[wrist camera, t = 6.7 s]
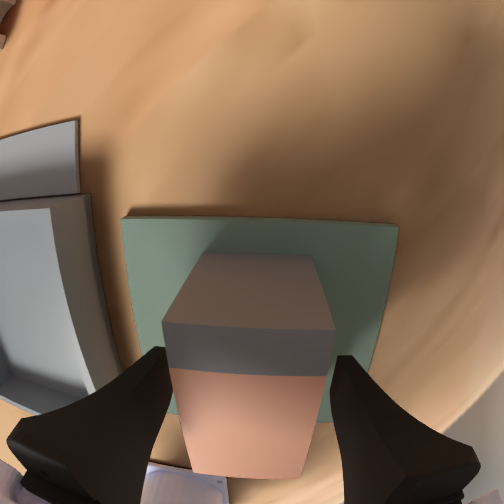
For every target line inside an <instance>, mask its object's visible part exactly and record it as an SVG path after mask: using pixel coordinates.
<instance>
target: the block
mask: <svg viewBox="0 0 504 504" xmlns="http://www.w3.org/2000/svg"><path fill="white" fill-rule="evenodd" d="M161 323H162V330H163V336H164V343H165V349H166V354H167V360H168V366H169V371H170V376H171V381H172V386H173V391H174V396H175V401H176V406H177V410H178V415H179V419H180V423H181V427H182V432H183V436H184V440H185V444H186V448H187V451H188V455H189V459H190V463H191V466H192V470H193V473H200V474H207V475H216V476H226V477H237V478H253V479H300V477H301V474H302V470H303V467H304V464H305V460H306V457H307V453H308V450H309V446H310V443H311V439H312V435H313V432H314V428H315V424H316V420H317V416H318V412H319V408H320V404H321V400H322V395H323V391H324V387H325V382H326V378H327V373H328V368H329V363H330V358H331V353H332V348H333V343H334V338H335V332H336V328H335V325H334V322H333V319H332V316H331V312H330V309H329V306H328V303H327V300H326V297H325V294H324V291H323V288H322V285H321V282H320V279H319V276H318V273H317V270H316V267H315V265H314V262H313V259H312V256H310V255H280V254H251V253H222V252H203V253H202V254H201V256H200V258H199V259H198V261H197V263H196V264H195V266H194V267H193V269H192V271H191V272H190V274H189V276H188V277H187V279H186V281H185V282H184V284H183V286H182V287H181V289H180V291H179V292H178V294H177V296H176V297H175V299H174V301H173V302H172V304H171V306H170V307H169V309H168V311H167V312H166V314H165V316H164V318H163V319H162V321H161Z"/></svg>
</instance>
